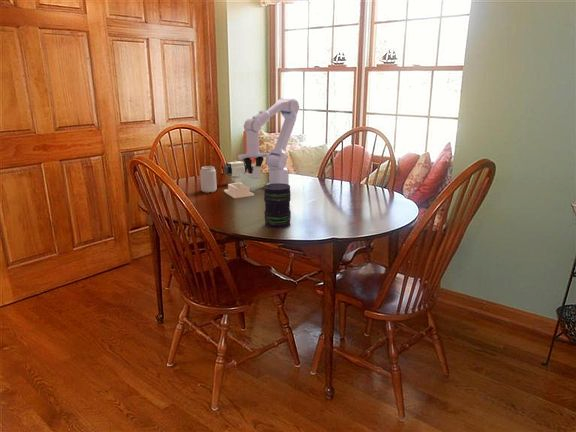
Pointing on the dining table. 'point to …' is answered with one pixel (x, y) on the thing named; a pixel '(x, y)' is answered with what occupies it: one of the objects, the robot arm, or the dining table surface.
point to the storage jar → (277, 205)
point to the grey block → (255, 172)
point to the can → (208, 179)
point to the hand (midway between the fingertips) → (253, 172)
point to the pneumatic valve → (235, 170)
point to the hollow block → (238, 190)
